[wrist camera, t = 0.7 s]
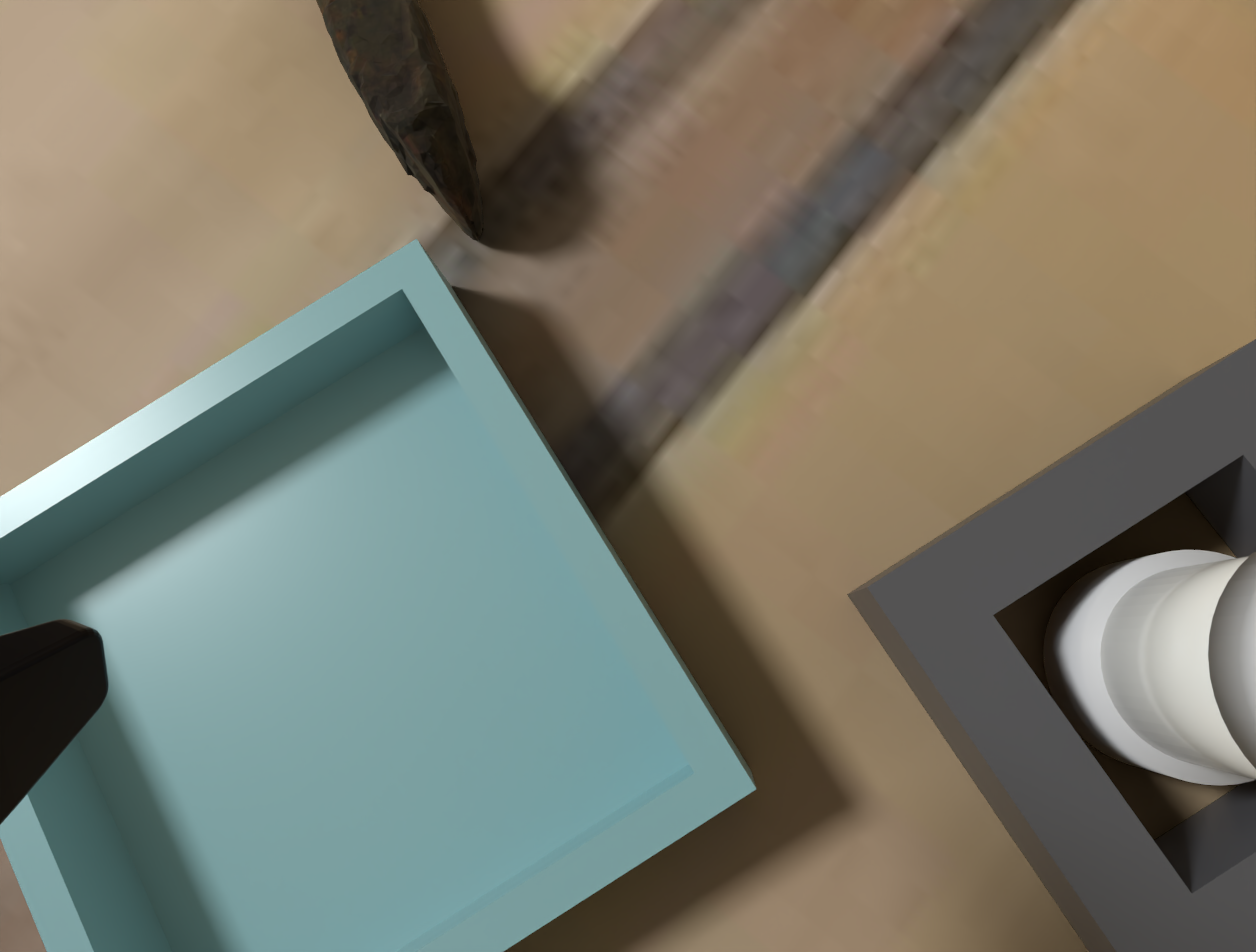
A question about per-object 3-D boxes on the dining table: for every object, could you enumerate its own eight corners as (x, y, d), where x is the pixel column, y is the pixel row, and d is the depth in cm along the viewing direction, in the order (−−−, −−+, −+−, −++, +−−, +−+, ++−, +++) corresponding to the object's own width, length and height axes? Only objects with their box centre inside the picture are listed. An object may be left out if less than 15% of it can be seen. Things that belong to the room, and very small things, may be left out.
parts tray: (750, 770, 22) (756, 789, 20) (217, 1111, 22) (142, 1183, 19) (450, 284, 26) (416, 238, 23) (-17, 575, 25) (-112, 566, 23)
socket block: (1484, 736, 21) (1609, 752, 18) (1109, 981, 21) (1174, 1037, 18) (1188, 376, 23) (1257, 338, 20) (847, 594, 23) (866, 587, 20)
